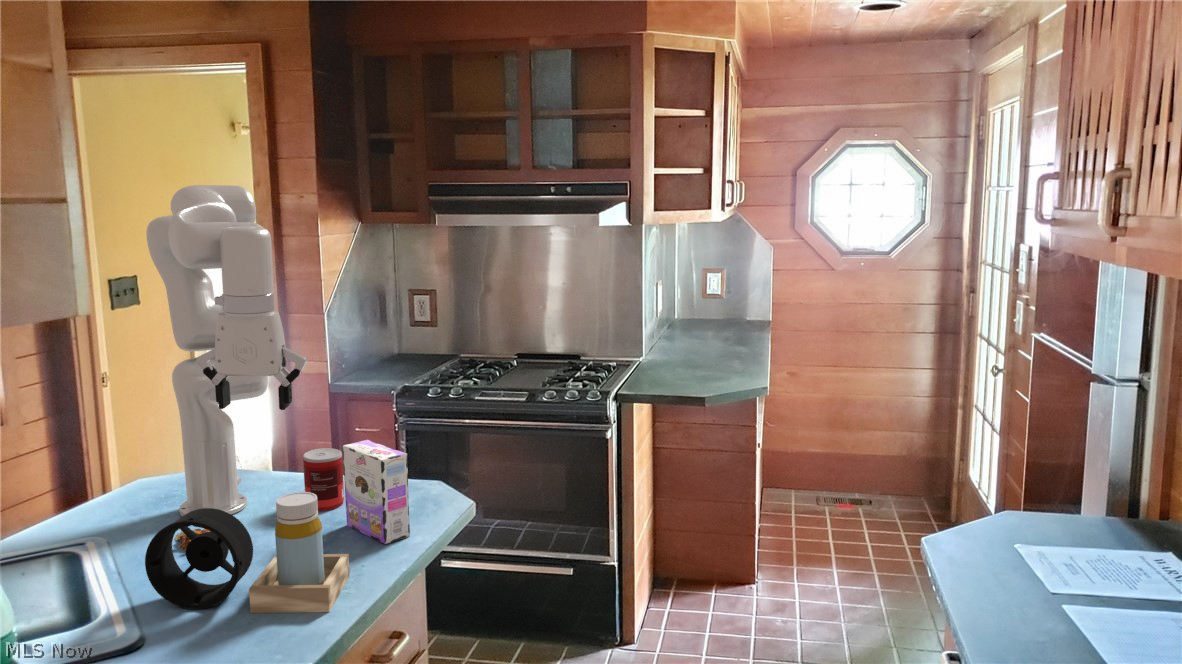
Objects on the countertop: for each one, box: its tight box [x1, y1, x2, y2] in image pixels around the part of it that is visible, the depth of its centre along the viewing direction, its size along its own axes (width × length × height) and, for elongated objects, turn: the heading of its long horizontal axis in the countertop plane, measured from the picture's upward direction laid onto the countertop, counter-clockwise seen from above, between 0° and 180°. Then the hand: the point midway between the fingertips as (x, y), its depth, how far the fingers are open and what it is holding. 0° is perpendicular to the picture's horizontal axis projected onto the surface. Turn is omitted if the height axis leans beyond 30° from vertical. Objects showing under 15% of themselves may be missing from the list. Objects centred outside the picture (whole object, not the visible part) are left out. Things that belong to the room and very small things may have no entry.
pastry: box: [173, 527, 211, 552], centre depth 151 cm, size 7×12×4 cm, turn 60°
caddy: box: [248, 553, 350, 614], centre depth 131 cm, size 12×12×4 cm
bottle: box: [274, 491, 325, 585], centre depth 130 cm, size 7×7×15 cm
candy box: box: [342, 439, 411, 545], centre depth 155 cm, size 14×6×16 cm, turn 47°
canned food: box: [302, 447, 345, 512], centre depth 169 cm, size 8×8×11 cm
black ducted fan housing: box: [144, 508, 254, 610], centre depth 130 cm, size 14×14×10 cm
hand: (254, 407), depth 134 cm, fingers open, 9 cm apart
